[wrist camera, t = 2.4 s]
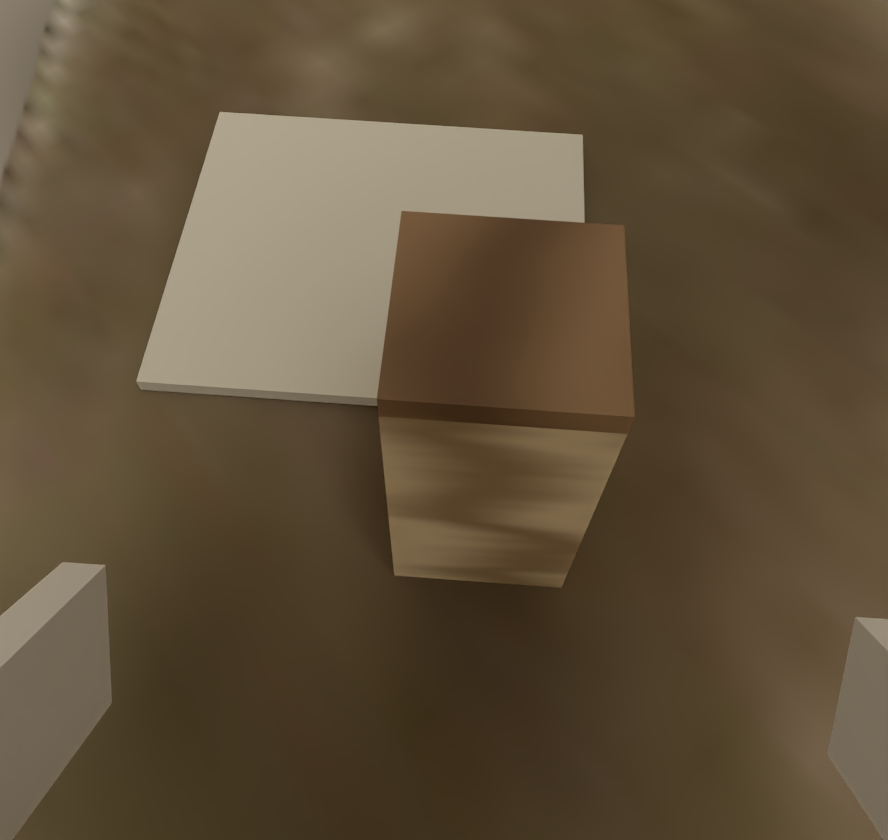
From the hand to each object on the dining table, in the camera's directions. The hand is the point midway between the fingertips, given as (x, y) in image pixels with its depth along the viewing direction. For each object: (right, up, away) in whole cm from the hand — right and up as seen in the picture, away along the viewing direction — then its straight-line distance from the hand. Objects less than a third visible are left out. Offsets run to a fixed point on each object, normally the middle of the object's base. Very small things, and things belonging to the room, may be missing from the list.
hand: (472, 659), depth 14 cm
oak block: (+1, +1, +17) cm, 17 cm away
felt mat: (-3, +12, +23) cm, 26 cm away
